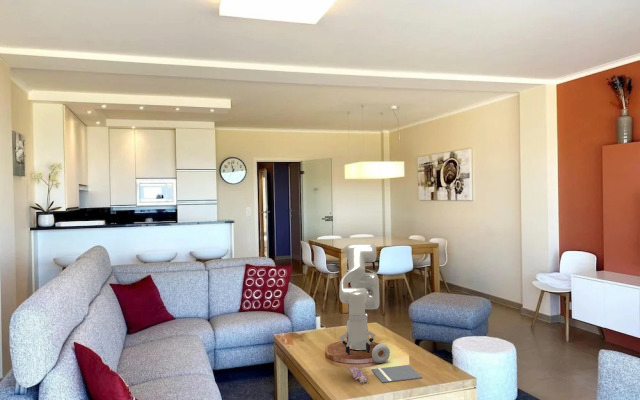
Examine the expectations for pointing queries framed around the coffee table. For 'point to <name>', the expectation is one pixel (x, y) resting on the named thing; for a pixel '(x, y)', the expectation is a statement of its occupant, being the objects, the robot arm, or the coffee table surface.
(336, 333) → the coffee table surface
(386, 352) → the donut
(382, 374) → the mat
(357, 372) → the rabbit figure
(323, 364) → the coffee table surface
